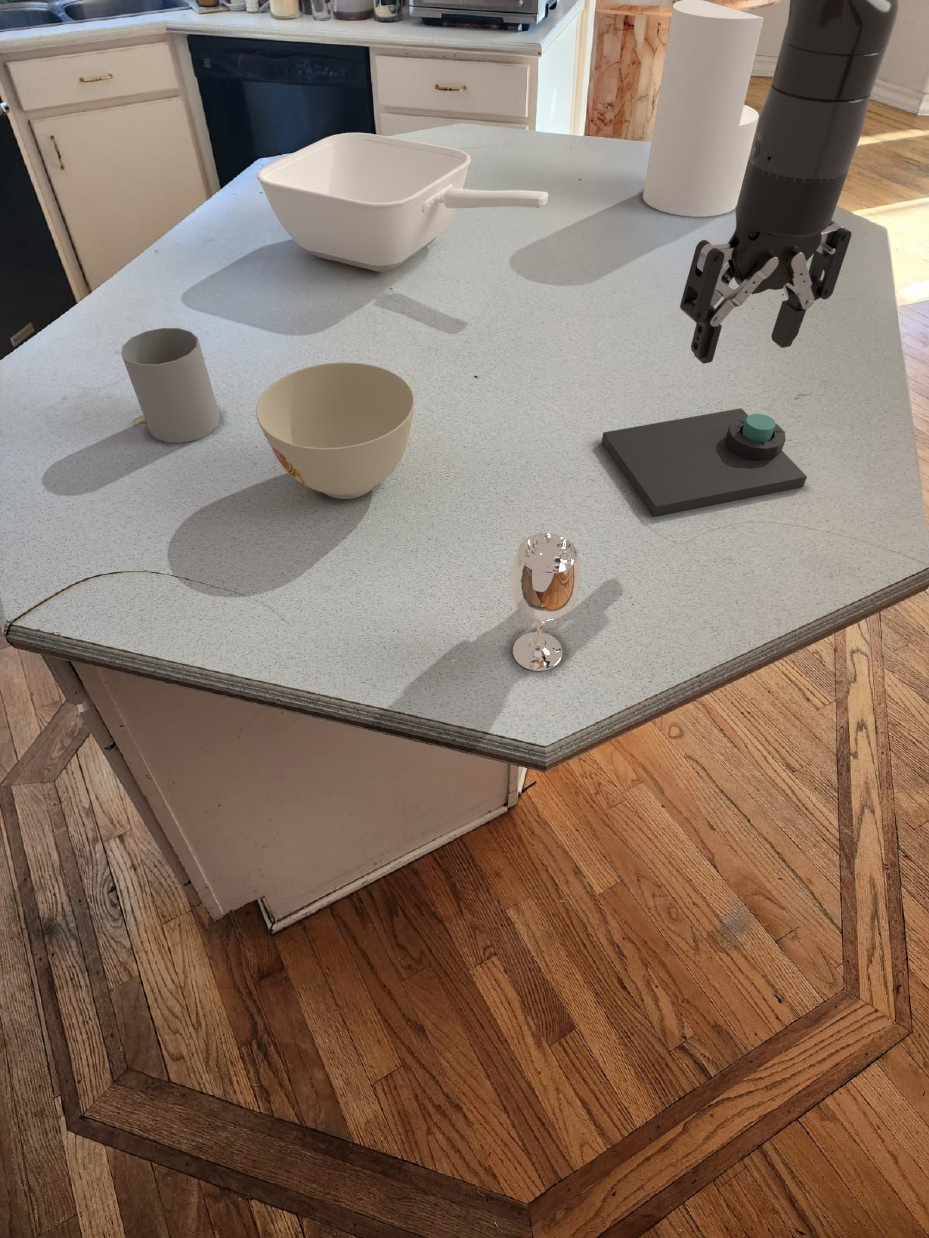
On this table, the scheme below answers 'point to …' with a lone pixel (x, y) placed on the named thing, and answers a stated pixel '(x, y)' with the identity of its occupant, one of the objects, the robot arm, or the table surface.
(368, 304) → the table surface
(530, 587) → the wineglass
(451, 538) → the table surface
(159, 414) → the cup
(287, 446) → the bowl
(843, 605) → the table surface
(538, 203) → the pan
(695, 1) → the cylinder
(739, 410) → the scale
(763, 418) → the power button
